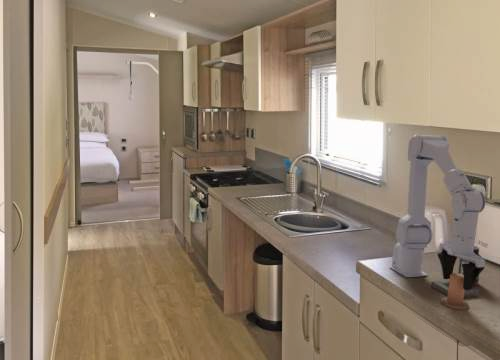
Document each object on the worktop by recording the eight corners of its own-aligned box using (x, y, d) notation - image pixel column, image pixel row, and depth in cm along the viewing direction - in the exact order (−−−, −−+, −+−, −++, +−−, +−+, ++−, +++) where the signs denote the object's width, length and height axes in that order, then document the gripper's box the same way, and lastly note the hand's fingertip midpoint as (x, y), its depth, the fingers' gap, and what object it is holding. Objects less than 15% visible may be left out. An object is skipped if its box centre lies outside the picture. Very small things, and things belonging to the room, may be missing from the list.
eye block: (431, 286, 148) (431, 281, 148) (455, 284, 152) (456, 279, 151) (452, 298, 140) (453, 293, 140) (478, 295, 143) (478, 290, 143)
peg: (443, 300, 137) (447, 274, 136) (455, 298, 139) (458, 272, 137) (454, 306, 134) (457, 279, 132) (466, 304, 135) (469, 278, 134)
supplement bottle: (460, 277, 158) (465, 242, 156) (480, 282, 154) (485, 247, 152) (454, 282, 153) (458, 246, 151) (474, 287, 150) (479, 251, 148)
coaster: (435, 300, 138) (435, 298, 138) (455, 298, 140) (455, 296, 140) (453, 310, 132) (453, 309, 132) (474, 308, 134) (474, 306, 134)
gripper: (432, 228, 138) (427, 275, 141) (472, 244, 125) (464, 295, 127) (453, 227, 141) (447, 273, 143) (494, 242, 127) (486, 293, 129)
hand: (457, 284), depth 135 cm, fingers open, 7 cm apart
